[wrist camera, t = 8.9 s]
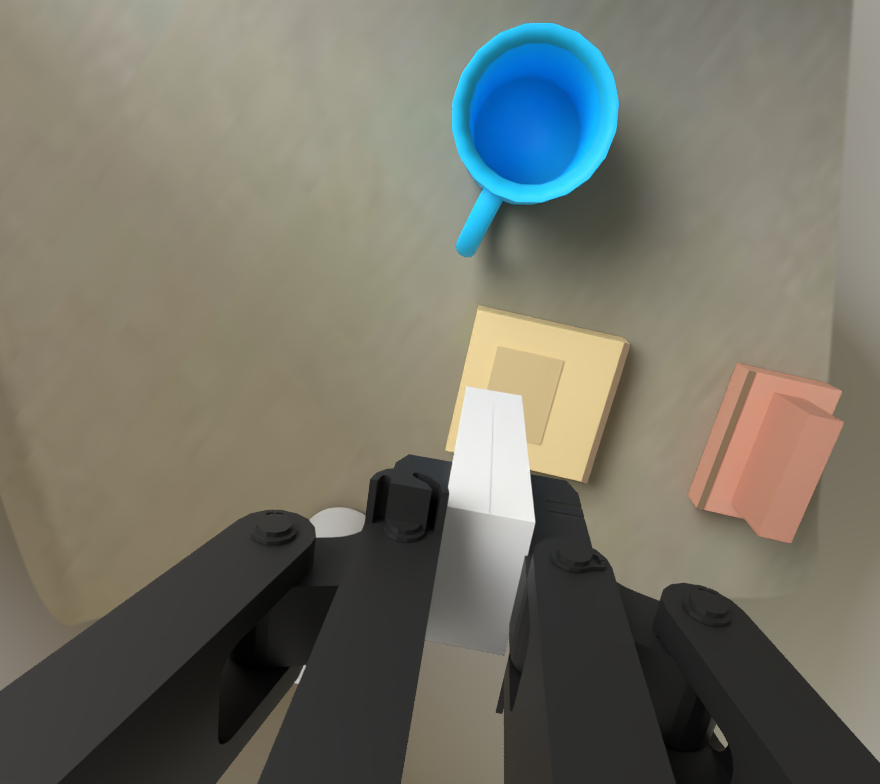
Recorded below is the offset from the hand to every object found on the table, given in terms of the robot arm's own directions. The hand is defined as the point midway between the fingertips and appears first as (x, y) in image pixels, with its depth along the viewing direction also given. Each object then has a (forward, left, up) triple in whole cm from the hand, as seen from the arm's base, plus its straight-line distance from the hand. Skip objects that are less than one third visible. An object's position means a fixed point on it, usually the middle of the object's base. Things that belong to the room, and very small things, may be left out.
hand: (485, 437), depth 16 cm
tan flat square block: (+5, +4, -25) cm, 26 cm away
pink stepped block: (+5, +20, -25) cm, 32 cm away
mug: (-9, -1, -26) cm, 27 cm away
